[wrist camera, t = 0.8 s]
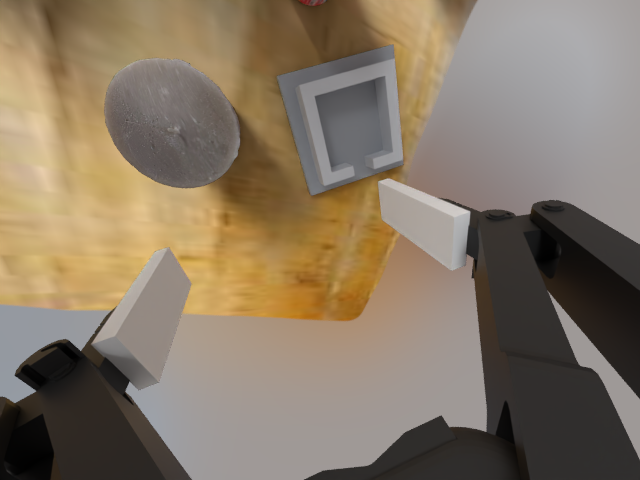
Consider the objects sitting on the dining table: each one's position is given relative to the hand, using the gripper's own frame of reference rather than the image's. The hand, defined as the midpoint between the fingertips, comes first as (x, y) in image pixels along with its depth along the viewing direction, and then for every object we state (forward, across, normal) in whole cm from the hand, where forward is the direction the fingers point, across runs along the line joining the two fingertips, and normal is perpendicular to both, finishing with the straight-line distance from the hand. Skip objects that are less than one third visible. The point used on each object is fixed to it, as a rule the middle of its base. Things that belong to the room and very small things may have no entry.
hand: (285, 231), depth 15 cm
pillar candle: (+24, -6, +7) cm, 25 cm away
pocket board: (+24, +14, +2) cm, 27 cm away
